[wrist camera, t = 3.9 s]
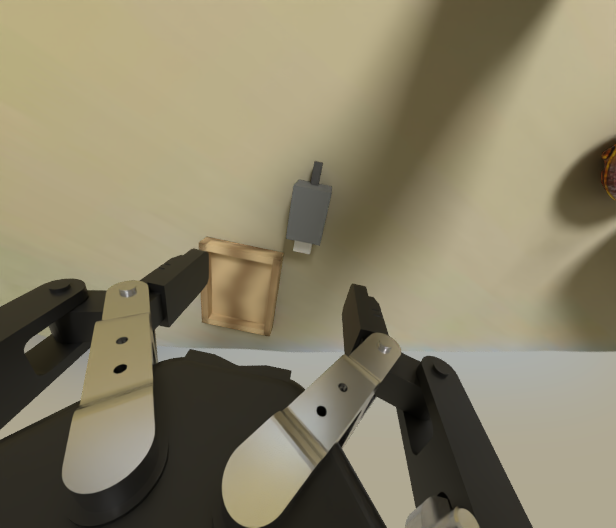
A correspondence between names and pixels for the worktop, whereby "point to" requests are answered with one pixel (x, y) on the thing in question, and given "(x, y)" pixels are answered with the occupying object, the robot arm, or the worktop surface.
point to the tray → (240, 286)
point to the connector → (308, 211)
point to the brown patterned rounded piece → (609, 171)
